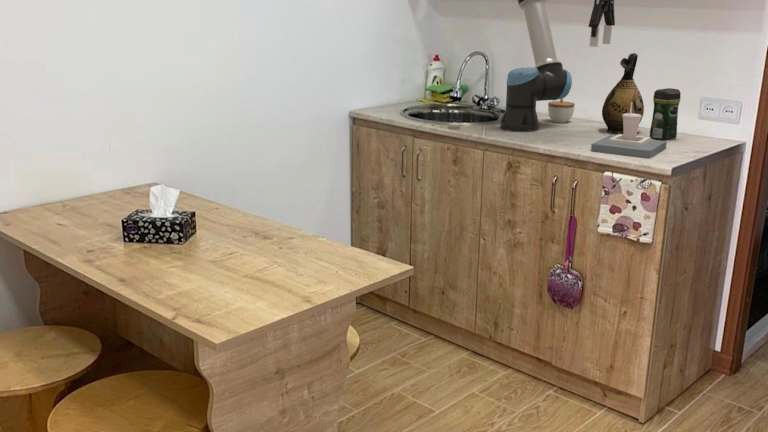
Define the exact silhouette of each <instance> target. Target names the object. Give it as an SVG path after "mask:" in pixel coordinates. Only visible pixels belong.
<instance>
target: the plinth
mask: <svg viewBox="0 0 768 432" xmlns="http://www.w3.org/2000/svg"><path fill="white" fill-rule="evenodd" d="M667 141H668V140H661V139H658V140H656V139H652V138H651V137H650V136H649V137H648V136H641V135H637V136H636V140H635V141H630V140H624V135H623V134H621V133H617V135H614V134H610V135H608V136H607V135H606V136H605V137H603V138H601V139H599V140H597V141H595V142H593V143H591V147H590V152H596V153H604V154H605V153H606V154H612V155H622V156H628V157H635V158H642V159H643V158H644V159H652V158H653V157H655V156H656V155H658V154H659V153H661V152H662V151H664V150H666V148H667Z"/></svg>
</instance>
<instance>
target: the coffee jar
mask: <svg viewBox="0 0 768 432" xmlns="http://www.w3.org/2000/svg"><path fill="white" fill-rule="evenodd" d="M681 95H682V94H681V91H680V89H678V88H677V89H676V88H672V87H671V88H670V87H668V88H659V89H656V90H655V91H654V94H653V98H652V101H653V111H652V118H651V125H650V131H649V138H650V139H652V140H660V141H669V140H673V139H676V138H677V136H678V135H677V134H678V113H679V105H680V103H681Z"/></svg>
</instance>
